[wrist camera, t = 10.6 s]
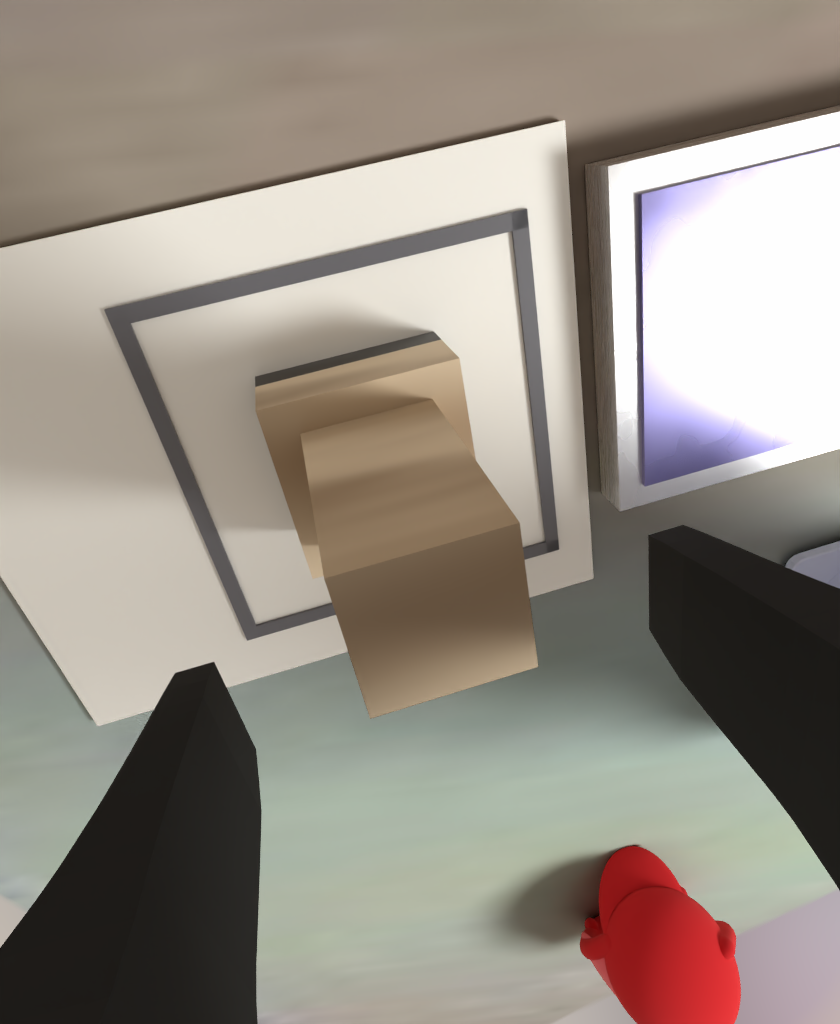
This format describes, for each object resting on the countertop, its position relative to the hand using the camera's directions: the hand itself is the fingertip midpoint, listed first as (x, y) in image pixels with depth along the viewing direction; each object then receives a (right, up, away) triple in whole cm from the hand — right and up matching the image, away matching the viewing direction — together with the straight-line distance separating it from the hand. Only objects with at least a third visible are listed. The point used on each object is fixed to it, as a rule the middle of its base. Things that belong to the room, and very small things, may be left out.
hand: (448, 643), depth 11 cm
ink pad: (+9, +8, +7) cm, 14 cm away
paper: (-4, +3, +7) cm, 8 cm away
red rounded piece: (+10, -16, +21) cm, 28 cm away
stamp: (-2, +4, +7) cm, 8 cm away
